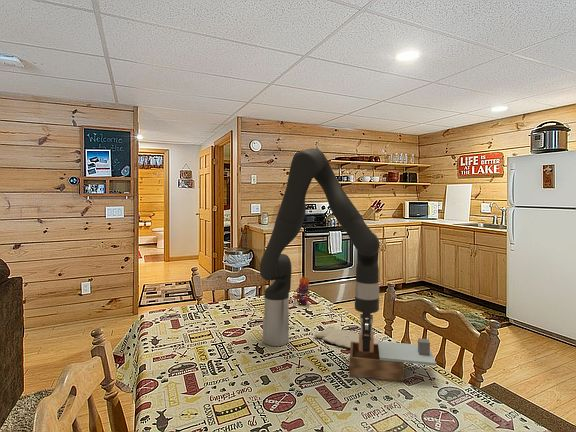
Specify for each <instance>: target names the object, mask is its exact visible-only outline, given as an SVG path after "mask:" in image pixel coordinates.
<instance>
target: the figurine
mask: <svg viewBox="0 0 576 432" xmlns="http://www.w3.org/2000/svg"><path fill="white" fill-rule="evenodd" d="M309 284H310V278H309V276H306V275H304V276H302V277H301V278H300V279H299V284H298V287H297V288H296V295H293V297H292V298H293V302H292V303H291V304H292V305H296V304H297V303H298V305H299V306H304V305H306V306H307V307H309V306H310V303H309V300H310V296H311V294H310V290H309ZM302 295H303V296H302ZM304 295H305V296H304ZM300 303H301V304H300Z"/></svg>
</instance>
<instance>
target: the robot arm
mask: <svg viewBox="0 0 576 432" xmlns="http://www.w3.org/2000/svg"><path fill="white" fill-rule="evenodd" d="M313 179H314V180H315V181H316V183H318V184H319V186H320V187H321V189H322V190H323V193H324V195H325V197H326V198H325V199H326V200H327V204H328V206H329V210H330V211H331V213H332V214H333V216H334V218H335V219H336V221H337V222H338V223H339V225H340V226H341V227H342V229H343V230H344V232H346V234H347V236H348V238H349V239H350V241H351V243H352V245H353V246H354V249H356V258H357V263H356V269H355V284H354V285H355V287H354V309H355V311H357V312H360V313H359V316H360V317H359V318H360V319H359V320H360V321H359V322H360V332H362V340H363V351H364V352H369V351H370V340H371V333H373V323H374V315H373V314H375V313H377V312H379V310H380V308H379V307H380V285H379V283H380V282H379V277H380V275H379V274H380V271H379V254H380V253H379V250H380V239H379V237H378V236H377V234H375V233H374V232H373V231H372V230H371V229H370V227H369V226H368V225H367V223H366V222H365V220H364V218H363V216H362V215H361V213H360V212H359V210H358V209H357V207H356V206H355V205H354V204H353V202H352V200H351V199H350V198H349V196H348V195H347V194H346V192H345V191H344V189H343V187H342V185H341V184H340V181H339V180H338V178H337V176H336V175H335V172H334V171H333V169H332V167H331V164H330V162H329V160H328V158H327V157H326V155H325V154H324V152H323V151H321V150H320V149H318V148H315V147H313V148H306V149H304V150H299V151H298V152H296V153H295V154H294V156H293V157H292V160H291V163H290V167H289V172H288V178H287V183H286V187H285V191H284V194H283V197H282V200H281V204H280V206H279V208H278V210H277V211H278V212H277V215H276V219H275V222H274V226H273V228H272V233H271V235H270V238H269V241H268V243H267V245H266V248H265V249H264V252H263V254H262V257H261V259H260V262H259V274H260V277H261V278H262V279H263V280H264V281H273V283H271V285H269V286H267V287H266V288H265V289H264V301H263V302H264V303H263V304H264V306H263V307H264V308H263V309H264V313H263V314H264V315H263V316H264V317H262V343H263V344H266V345H268V346H271V347H281V346H285V345H287V344H288V343H289V337H290V334H289V331H290V330H289V329H290V328H289V327H290V326H289V325H290V316H289V315H290V314H289V311H290V307H289V305H290V300H289V299H290V298H289V297H290V292H291V284H292V262H291V259H290V257H289V256H288V255H287V254H285V253H282V252H283V251H284V250H285V249H286V247H287V246H289V244H290V243H291V242H293V240H294V239H295V238H297V236H298V234H299V233H300V232H301V230H302V227H303V223H304V220H305V217H306V195H307V193H308V190H309V187H310V185H311V183H312V180H313ZM364 334H366V335H369V336H364Z"/></svg>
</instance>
